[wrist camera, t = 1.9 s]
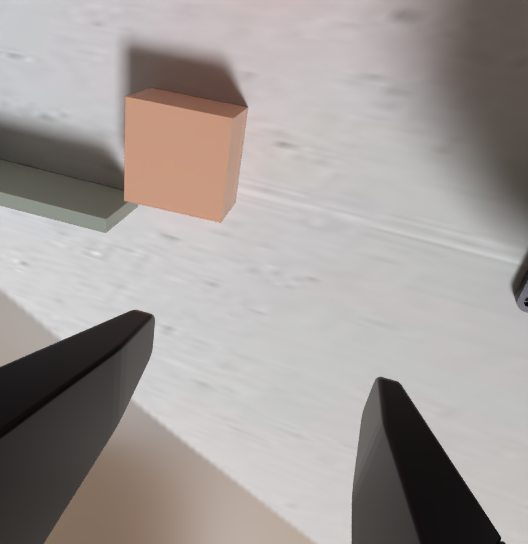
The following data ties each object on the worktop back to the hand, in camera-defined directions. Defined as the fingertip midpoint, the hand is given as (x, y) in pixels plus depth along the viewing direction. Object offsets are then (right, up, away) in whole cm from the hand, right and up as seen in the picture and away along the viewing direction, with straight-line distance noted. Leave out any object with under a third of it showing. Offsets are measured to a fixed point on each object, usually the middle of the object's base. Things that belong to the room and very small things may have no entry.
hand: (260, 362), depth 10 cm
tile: (-3, +7, +11) cm, 13 cm away
